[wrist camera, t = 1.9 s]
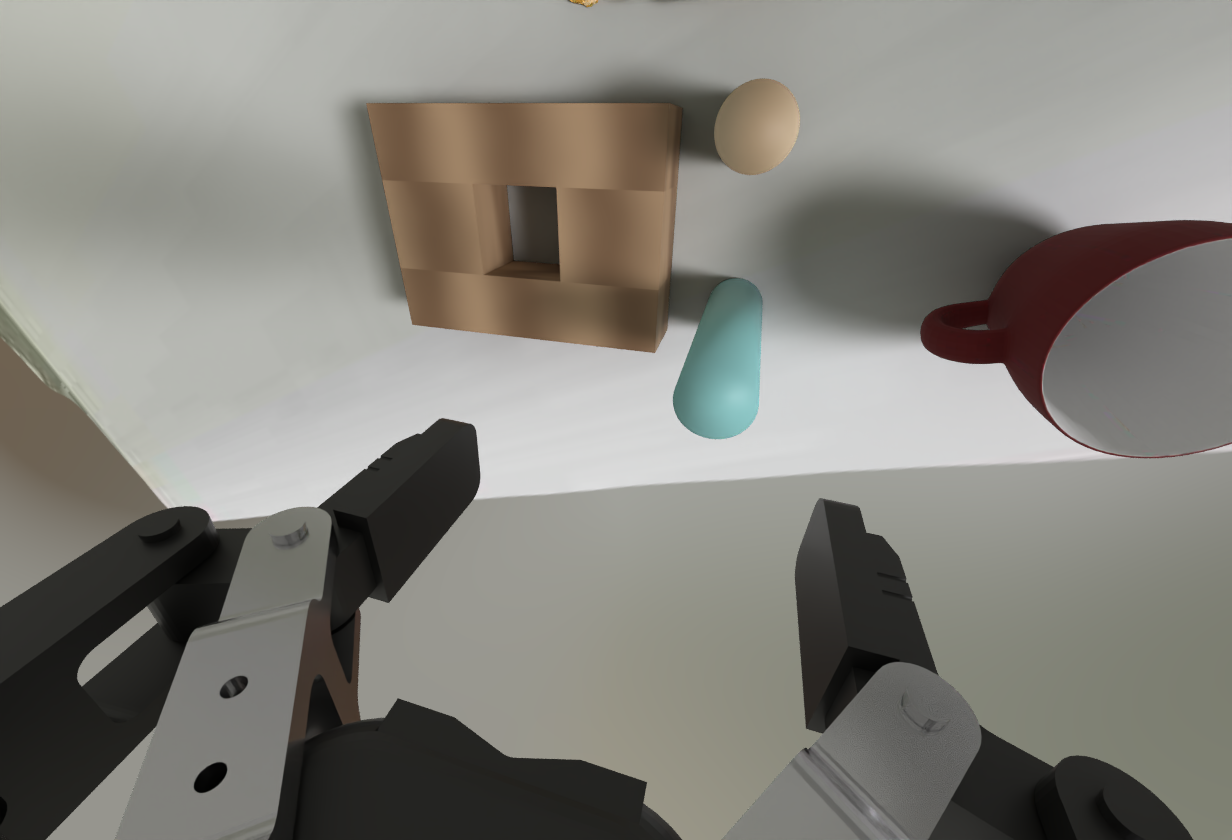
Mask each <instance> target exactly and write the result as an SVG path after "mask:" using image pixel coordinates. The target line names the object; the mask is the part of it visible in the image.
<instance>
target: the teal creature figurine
mask: <svg viewBox="0 0 1232 840" xmlns="http://www.w3.org/2000/svg"><path fill="white" fill-rule="evenodd" d="M570 1H571V2H573V3H579V4H583V5H585V6H586V7H591V6H592V5H593V4H595V3H597V2H598V0H570Z"/></svg>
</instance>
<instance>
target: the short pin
mask: <svg viewBox="0 0 1232 840" xmlns="http://www.w3.org/2000/svg"><path fill="white" fill-rule="evenodd" d="M799 126H800V113H799V108H798V104H797V102H796V99H795V97H794V96H793V94H792V93H791V92H790V90H789V89H788V88H787V87H786V86H784V85H783V84H781V83H780V82H777V81H775V80H771V79H755V80H751V81H749V82H746V83H744V84H742V85H741V86H739V87H738V88H736V89H735V90H734V91H733V92H732V93H731V94H730V95H729V96H728V97H727V98H726V100H725V101H724V103H723V104H722V106H721V108H720V110H719V112H718V115H717V118H716V122H715V128H714V139H715V145H716V149H717V152H718V154H719V156H720V158H721V159H722V161H723V162H724V163H725V164H726V165H727V166H728V167H729V168H730V169H732V170H734V171H736V172H738V173H741V174H746V175H756V174H761V173H764V172H767V171H769V170H771V169H773V168H774V167H776V166H777V165H778V164H780V163H781V162H782V161H783V160H784V159H785V158H786V157H787V155H788V154H789V153H790V151H791V149H792V148H793V146H794V144H795V142H796V139H797V136H798V132H799Z"/></svg>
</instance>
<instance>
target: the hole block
mask: <svg viewBox="0 0 1232 840" xmlns="http://www.w3.org/2000/svg"><path fill="white" fill-rule="evenodd" d="M366 104H367V109H368V114H369V119H370V124H371V128H372V133H373V138H374V143H375V148H376V152H377V157H378V162H379V167H380V172H381V176H382V181H383V186H384V191H385V196H386V200H387V205H388V210H389V215H390V220H391V224H392V229H393V234H394V239H395V244H396V248H397V253H398V258H399V263H400V268H401V272H402V277H403V282H404V287H405V292H406V296H407V301H408V306H409V311H410V316H411V320H412V325H420V326H428V327H437V328H445V329H454V330H463V331H471V332H480V333H488V334H497V335H506V336H514V337H523V338H531V339H540V340H549V341H557V342H566V343H574V344H583V345H592V346H600V347H609V348H617V349H626V350H635V351H643V352H652V353H655V352H656V350H657V348H658V346H659V344H660V342H661V340H662V339H663V337H664V335H665V333H666V331H667V324H668V310H669V296H670V282H671V268H672V253H673V239H674V225H675V211H676V197H677V182H678V168H679V154H680V140H681V125H682V111H683V108H681V107H679V106H676V105H673V104H670V103H366ZM507 185H513V186H537V187H556V190H557V213H558V235H559V258H560V264H549V263H536V262H523V261H514V259H513V248H512V237H511V226H510V215H509V204H508V193H507Z"/></svg>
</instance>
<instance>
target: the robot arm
mask: <svg viewBox="0 0 1232 840" xmlns="http://www.w3.org/2000/svg"><path fill="white" fill-rule="evenodd" d="M479 484H480V466H479V456H478V445H477V435H476V430H475V427H474V426H473V425H472V424H468V423H464V422H459V421H454V420H449V419H444V418H442V419H439V420H438V421H436V422H435V423H434V424H433V425H432V426H430V427H429V428H428V429H427V430H426V431H425V432H423V433H422V434H416V435H413V436H411V437H409V438H407V439H404V440H402V441H400V442H398V443H396V444H395V445H393V446H392V447H391V448H390V449H389V450H387V451H386V452H385V453H384V454H382V455H381V458H380V459H379V458H377V459H376V460H375V461H374V462H373V463H371V464H370V465H369V466H368V469H364V470H363V471H362V472H360V473H359V474H358V475H357V476H355V477H354V478H353V479H352V480H350V481H349V482H348V483H347V484H346V485H344V486H343V487H342V488H341V489H339V490H338V491H337V492H336V493H335V494H333V495H332V496H331V497H330V498H328V499H327V500H326V501H325V502H324V503H322V504H321V505H320V506H319V507H317V508H315V507H298V508H292V509H287V510H284V511H281V512H278V513H276V514H273V515H271V516H269V517H268V518H266V519H264V520H263V521H261V522H260V523H259V524H257V525H256V526H255V527H254V528H247V529H245V528H241V529H215V527H214V525H213V523H212V521H211V518H210V516H209V514H208V513H207V512H206V511H205V510H203V509H201V508H198V507H192V506H184V507H175V508H169V509H165V510H161V511H158V512H155V513H152V514H150V515H147V516H145V517H143V518H141V519H139V520H137V521H135V522H133V523H131V524H130V525H128V526H127V527H125V528H124V529H122V530H120V531H119V532H117V533H116V534H114V535H113V536H111V537H109V538H108V539H106V540H105V541H103V542H102V543H100V544H98V545H97V546H95V547H94V548H92V549H91V550H89V551H88V552H86V553H84V554H83V555H82V556H80V557H78V558H77V559H75V560H74V561H72V562H70V563H69V564H67V565H66V566H64V567H63V568H61V569H60V570H58V571H56V572H55V573H53V574H52V575H50V576H49V577H47V578H46V579H44V580H42V581H41V582H39V583H38V584H36V585H34V586H33V587H31V588H30V589H28V590H27V591H25V592H24V593H22V594H20V595H19V596H18V597H16V598H14V599H13V600H11V601H10V602H8V603H6V604H5V605H3V606H2V607H0V840H46V839H47V838H48V836H49V835H50V834H51V833H52V832H53V831H54V830H55V829H56V828H57V827H58V826H59V825H60V824H61V823H62V822H63V821H64V820H65V819H66V818H67V817H68V816H69V815H70V814H71V813H72V812H73V811H74V810H75V809H76V808H77V807H78V806H79V805H80V804H81V803H82V802H83V801H84V800H85V799H86V798H87V797H88V795H90V794H91V792H92V791H93V790H94V789H95V788H96V787H97V786H98V785H99V784H100V783H101V782H102V781H103V780H104V779H105V778H106V777H107V776H108V775H109V774H110V773H111V772H112V771H113V770H114V769H115V768H116V767H117V766H118V765H119V764H120V763H121V762H122V761H123V760H124V759H125V758H126V757H127V756H128V755H129V754H130V753H131V752H132V751H133V750H134V748H135V747H136V746H137V745H138V744H139V743H140V742H141V741H142V740H143V739H144V738H145V737H146V736H147V735H148V734H149V733H150V732H151V731H152V730H153V729H154V728H155V727H156V729H155V732H154V734H153V737H152V740H151V742H150V745H149V748H148V750H147V753H146V756H145V759H144V761H143V764H142V767H141V769H140V772H139V775H138V778H137V780H136V783H135V786H134V788H133V791H132V794H131V797H130V800H129V802H128V805H127V807H126V810H125V813H124V816H123V819H122V821H121V824H120V827H119V829H118V832H117V835H116V837H115V840H682V839H681V838H680V837H679V835H678V834H677V833H676V832H675V831H674V830H673V828H672V827H671V826H669V824H668V823H667V822H665V821H664V820H663V819H662V818H661V817H660V816H659V815H658V814H657V813H656V812H654V811H653V810H651V809H650V808H648V807H647V806H646V805H645V804H643V801H644V796H645V789H646V784H647V782H644V781H642V780H639V779H636V778H633V777H629V776H627V775H624V774H621V773H618V772H615V771H612V770H609V769H606V768H603V767H600V766H597V765H594V764H591V763H588V762H585V761H582V760H564V759H562V760H561V759H531V758H512V757H508V756H506V755H504V754H502V753H501V752H500V751H498V750H497V749H496V748H494V747H493V746H492V745H490V744H489V743H488V742H486V741H485V740H484V739H482V738H481V737H480V736H478V735H477V734H476V733H474V732H473V731H472V730H470V729H469V728H468V727H466V726H465V725H464V724H462V723H461V722H460V721H458V720H457V719H456V718H454V717H452V716H449V715H446V714H443V713H440V712H437V711H434V710H431V709H428V708H425V707H422V706H419V705H416V704H413V703H410V702H407V701H404V700H401V699H397V701H396V702H395V704H394V705H393V707H392V708H391V710H390V711H389V713H388V714H387V716H386V717H385V718H376V719H367V720H361V719H360V712H359V706H358V675H359V674H358V673H359V651H360V626H361V613H360V610H359V607H360V605H361V604H362V603H363V602H364V601H365V600H366V599H367V598H368V597H371V598H374V599H377V600H381V601H384V602H387V603H389V602H390V601H391V600H392V598H393V597H394V596H395V595H396V593H397V592H398V591H399V590H400V589H401V587H402V586H403V585H404V584H405V582H406V581H407V580H408V579H409V577H410V576H411V575H412V574H413V572H414V571H415V570H416V569H417V568H418V567H419V565H420V564H421V563H422V561H423V560H424V559H425V558H426V557H427V555H428V554H429V553H430V552H431V551H432V549H433V548H434V547H435V546H436V544H437V543H438V542H439V541H440V540H441V538H442V537H443V536H444V535H445V533H446V532H447V531H448V530H449V528H450V527H451V526H452V525H453V524H454V522H455V521H456V520H457V519H458V517H459V516H460V515H461V514H462V513H463V511H464V510H465V509H466V508H467V506H468V505H469V504H470V503H471V502H472V500H473V499H474V497H475V495H476V493H477V491H478V488H479ZM795 585H796V599H797V611H798V612H797V613H798V625H799V640H800V653H801V666H802V680H803V693H804V707H805V720H806V729H809V730H813V731H816V732H819V733H823V734H822V735H821V736H820V738H819V739H818V740H817V741H816V742H815V743H814V744H813V745H812V747H810V748H809V749H807V748H804V749H803V750H802V751H800V752H799V753H798V754H797V755H796V756H795V758H793V759H792V761H791V762H790V763H789V764H788V765H787V766H786V767H785V768H784V769H783V771H782V772H781V773H780V774H779V775H778V776H777V777H776V778H775V780H774V781H773V782H772V783H771V784H770V785H769V786H768V788H767V789H766V790H765V791H764V792H763V793H762V794H761V796H760V797H759V798H758V799H757V800H756V801H755V802H754V803H753V804H752V806H751V807H750V808H749V809H748V810H747V811H746V812H745V813H744V815H743V816H742V817H741V818H740V819H739V820H738V821H737V823H736V824H735V825H734V826H733V827H732V828H731V829H730V830H729V832H728V833H727V834H726V835H725V836H724V837H723V838H722V840H1193V839H1192V837H1191V836H1190V834H1189V832H1188V831H1187V829H1186V828H1185V827H1184V826H1183V824H1182V823H1181V822H1180V821H1179V819H1178V818H1177V817H1176V816H1175V815H1174V814H1173V812H1172V811H1171V810H1170V809H1169V808H1168V807H1167V806H1166V805H1165V804H1164V803H1163V802H1162V801H1161V800H1160V799H1159V798H1158V797H1157V796H1155V794H1153V793H1152V792H1151V791H1150V790H1148V789H1147V788H1146V787H1145V786H1144V785H1142V784H1141V783H1140V782H1138V781H1137V780H1135V779H1134V778H1133V777H1131V776H1130V775H1128V774H1126V773H1125V772H1123V771H1121V770H1120V769H1118V768H1116V767H1114V766H1112V765H1110V764H1108V763H1105V762H1103V761H1100V760H1098V759H1094V758H1091V757H1087V756H1069V757H1067V758H1064V759H1063V760H1062V761H1061V762H1060V763H1058V764H1057V765H1056V766H1055V767H1052V766H1050V765H1049V764H1047V763H1045V762H1043V761H1041V760H1039V759H1038V758H1036V757H1034V756H1032V755H1030V754H1028V753H1027V752H1025V751H1023V750H1021V749H1019V748H1017V747H1016V746H1014V745H1012V744H1010V743H1008V742H1006V741H1005V740H1003V739H1001V738H999V737H997V736H996V735H994V734H992V733H991V732H989V731H987V730H986V729H985V728H983V727H982V726H981V725H979V723H978V720H977V718H976V716H975V714H974V712H973V710H972V709H971V708H970V706H969V704H968V703H967V701H966V700H965V699H964V698H963V697H962V695H961V694H959V692H958V691H957V690H955V688H954V687H953V686H951V685H950V684H949V683H948V682H946V681H945V680H944V679H942V678H941V677H939V675H938V673H937V670H936V667H935V664H934V661H933V658H932V655H931V652H930V649H929V647H928V643H927V640H926V637H925V634H924V631H923V628H922V625H921V622H920V619H919V616H918V613H917V610H916V607H915V604H914V602H913V601H912V594H911V591H910V588H909V585H908V583H906V576H905V573H904V570H903V567H902V564H901V561H900V558H899V556H898V555H897V554H896V553H895V551H894V550H893V549H892V548H891V547H890V545H889V544H888V543H887V542H886V540H885V539H884V538H883V537H882V536H879V535H875V534H870V533H866V530H865V526H864V522H863V518H862V515H861V511H860V508H859V507H858V506H855V505H851V504H846V503H841V502H836V501H832V500H826V499H822V498H820V499H819V500H818V501H817V503H816V505H815V508H814V510H813V513H812V516H811V518H810V522H809V524H808V527H807V530H806V532H805V535H804V538H803V540H802V543H801V546H800V549H799V552H798V556H797V561H796V569H795ZM146 606H147V607H148V608H149V610H150V611H151V613H152V615H153V616H154V618H155V619H156V620H157V622H158V623H157V624H156V625H155V626H153V627H152V628H151V629H150V630H149V631H147V632H146V633H145V634H144V635H143V636H141V637H140V638H139V639H138V640H137V641H135V642H134V643H133V644H132V645H131V646H130V647H128V648H127V649H126V650H125V651H124V652H122V653H121V654H120V655H119V656H118V657H117V658H115V659H114V660H113V661H112V662H111V663H109V664H108V665H107V666H106V667H105V668H104V669H102V670H101V671H100V672H99V673H98V674H96V675H95V676H94V677H93V678H92V679H90V680H89V681H88V682H87V683H86V684H85V685H84V686H82V687H81V685H80V684H79V683H78V680H77V673H78V669H79V667H80V665H81V663H82V661H83V660H84V658H85V657H86V656H87V654H89V653H90V652H91V651H92V650H93V649H94V648H95V647H96V646H98V644H100V643H101V642H103V641H104V640H105V639H106V638H108V637H109V636H110V635H111V634H113V633H114V632H115V631H116V630H118V629H119V628H120V627H121V626H123V625H124V624H125V623H126V622H127V621H129V620H130V619H131V618H132V617H134V616H135V615H136V614H138V613H139V612H140V611H141V610H143V609H144V608H145V607H146Z"/></svg>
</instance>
